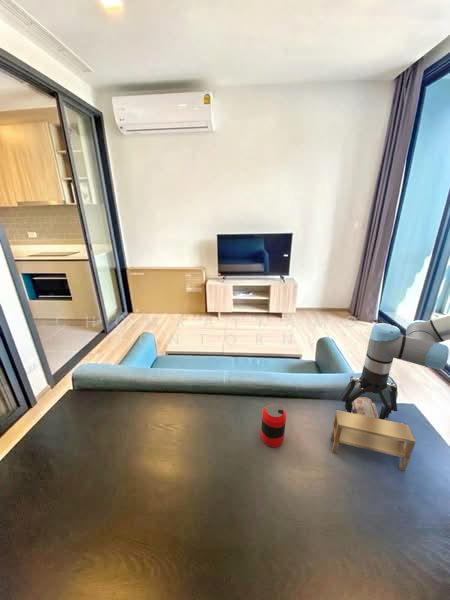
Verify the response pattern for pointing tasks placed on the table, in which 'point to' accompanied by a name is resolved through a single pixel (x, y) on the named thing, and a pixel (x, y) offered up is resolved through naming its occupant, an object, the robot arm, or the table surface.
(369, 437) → the rack
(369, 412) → the packaged product
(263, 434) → the soda can
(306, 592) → the table surface
